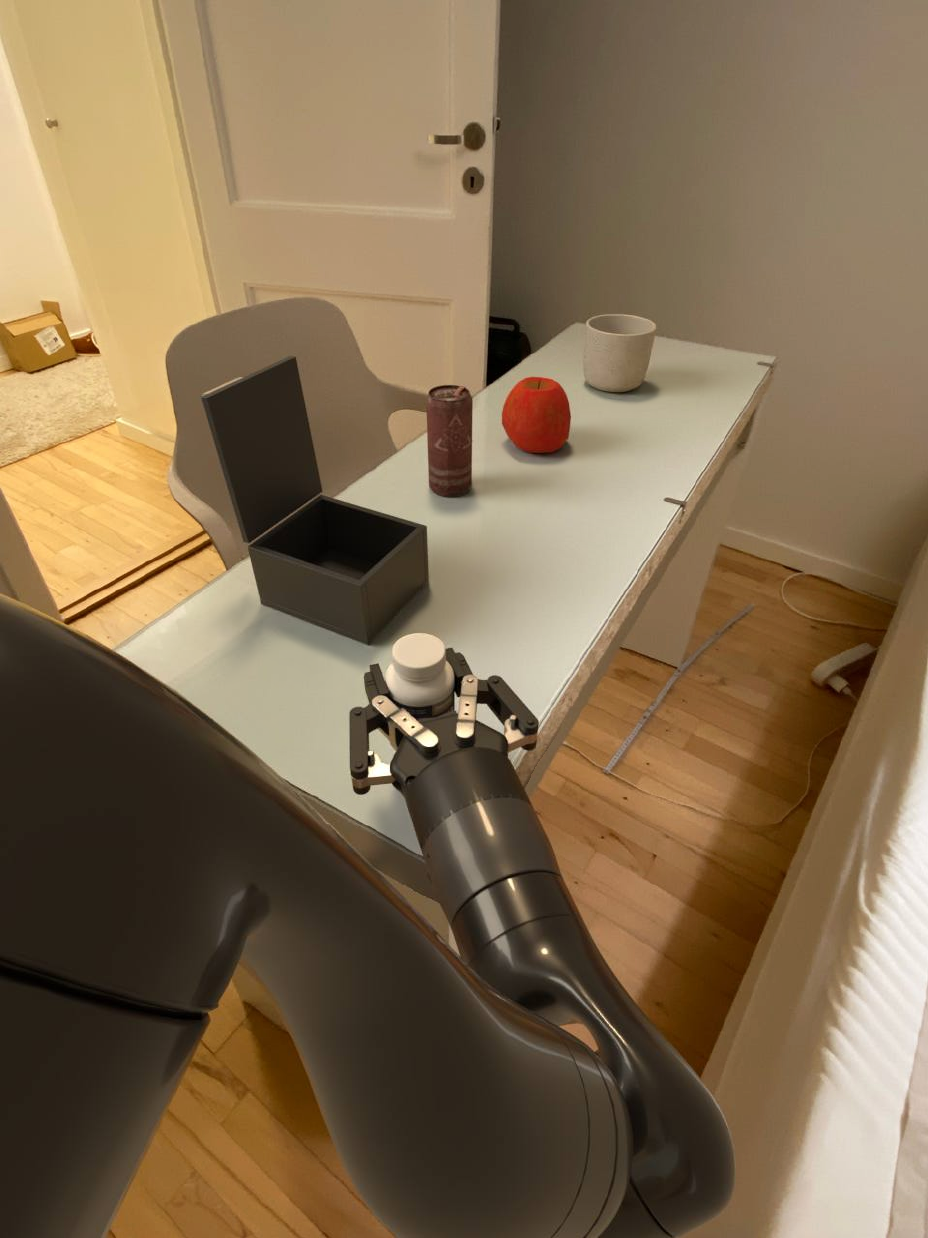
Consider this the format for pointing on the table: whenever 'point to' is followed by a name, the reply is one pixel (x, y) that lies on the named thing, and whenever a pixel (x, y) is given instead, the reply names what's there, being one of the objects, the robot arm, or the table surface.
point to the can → (449, 440)
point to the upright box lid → (264, 445)
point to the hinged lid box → (341, 567)
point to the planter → (617, 351)
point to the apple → (537, 415)
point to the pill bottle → (421, 676)
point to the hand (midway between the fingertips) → (411, 664)
